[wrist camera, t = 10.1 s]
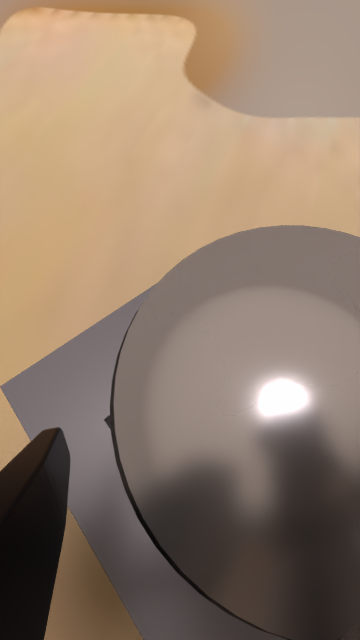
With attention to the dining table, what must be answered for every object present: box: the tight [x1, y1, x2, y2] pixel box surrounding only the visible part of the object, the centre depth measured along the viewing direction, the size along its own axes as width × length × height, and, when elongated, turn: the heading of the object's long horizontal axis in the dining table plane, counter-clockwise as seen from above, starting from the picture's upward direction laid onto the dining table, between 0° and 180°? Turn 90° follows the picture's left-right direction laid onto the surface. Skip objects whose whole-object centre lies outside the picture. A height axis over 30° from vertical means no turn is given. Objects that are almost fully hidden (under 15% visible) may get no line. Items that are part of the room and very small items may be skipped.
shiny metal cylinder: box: [110, 225, 360, 640], centre depth 10 cm, size 5×5×13 cm
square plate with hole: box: [0, 282, 288, 640], centre depth 15 cm, size 14×12×4 cm
